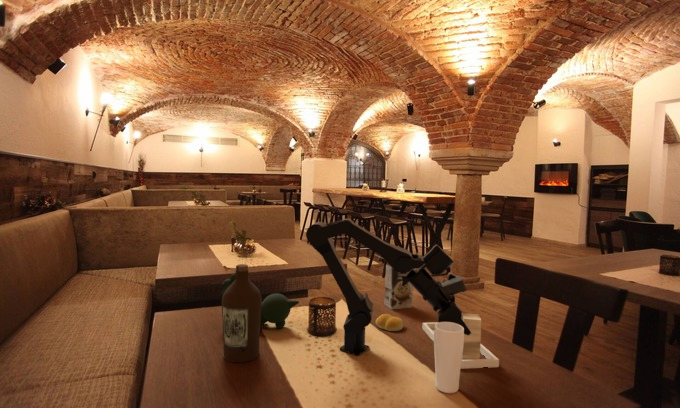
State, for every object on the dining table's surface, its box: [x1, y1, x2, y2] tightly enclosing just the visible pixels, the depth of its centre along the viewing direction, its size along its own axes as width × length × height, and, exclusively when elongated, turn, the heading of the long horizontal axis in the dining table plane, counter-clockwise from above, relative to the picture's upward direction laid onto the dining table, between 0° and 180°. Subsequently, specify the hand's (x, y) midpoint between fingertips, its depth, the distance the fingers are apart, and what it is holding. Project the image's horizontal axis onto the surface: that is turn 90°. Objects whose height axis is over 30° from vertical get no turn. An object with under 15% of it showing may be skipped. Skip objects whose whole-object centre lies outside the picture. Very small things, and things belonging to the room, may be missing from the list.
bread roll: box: [375, 313, 404, 332], centre depth 133 cm, size 8×9×4 cm
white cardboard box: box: [383, 263, 414, 310], centre depth 153 cm, size 9×6×16 cm
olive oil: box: [221, 263, 263, 363], centre depth 108 cm, size 11×11×25 cm
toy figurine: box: [220, 272, 300, 330], centre depth 130 cm, size 9×19×25 cm
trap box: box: [422, 322, 500, 370], centre depth 118 cm, size 28×12×2 cm, turn 7°
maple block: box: [461, 312, 482, 360], centre depth 109 cm, size 4×4×12 cm
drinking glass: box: [433, 322, 464, 394], centre depth 94 cm, size 7×7×15 cm
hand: (466, 327), depth 109 cm, fingers open, 9 cm apart
